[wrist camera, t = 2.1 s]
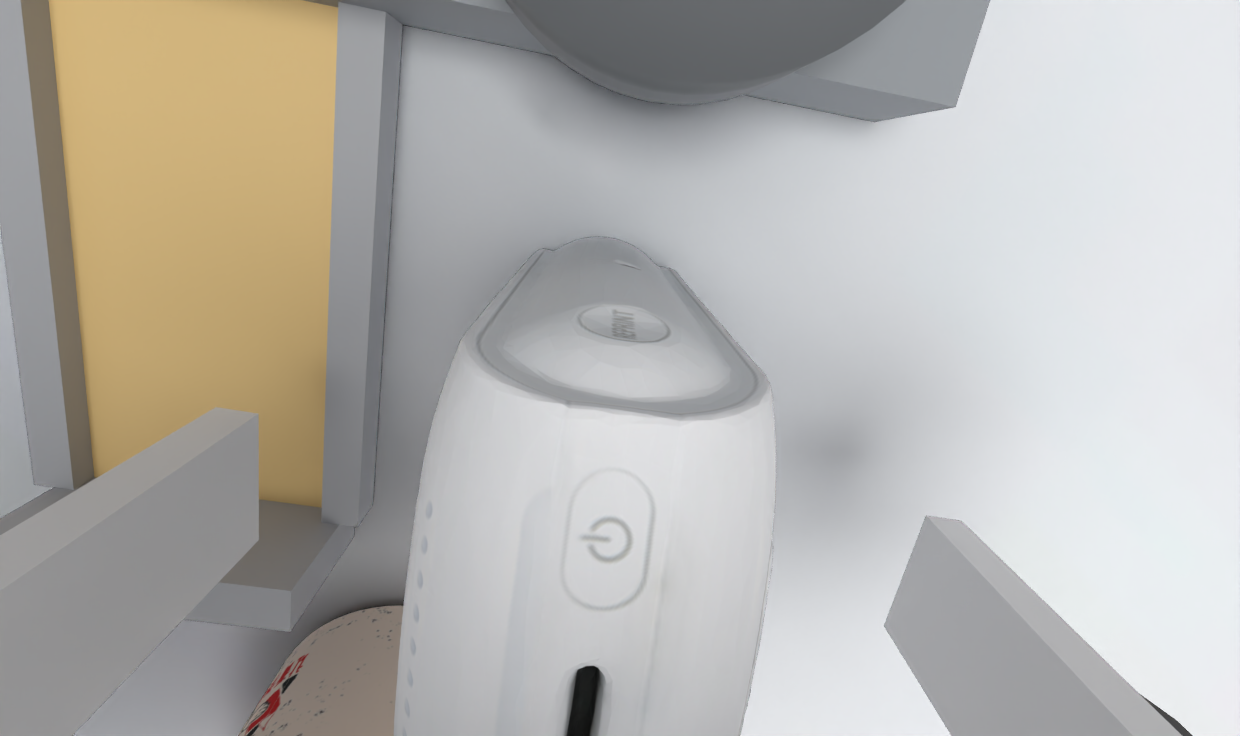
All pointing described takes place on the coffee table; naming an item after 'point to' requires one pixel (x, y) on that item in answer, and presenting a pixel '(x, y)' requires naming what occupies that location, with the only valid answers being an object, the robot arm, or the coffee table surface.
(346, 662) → the teacup with lid
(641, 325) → the photo printer
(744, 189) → the coffee table surface
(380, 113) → the deck
